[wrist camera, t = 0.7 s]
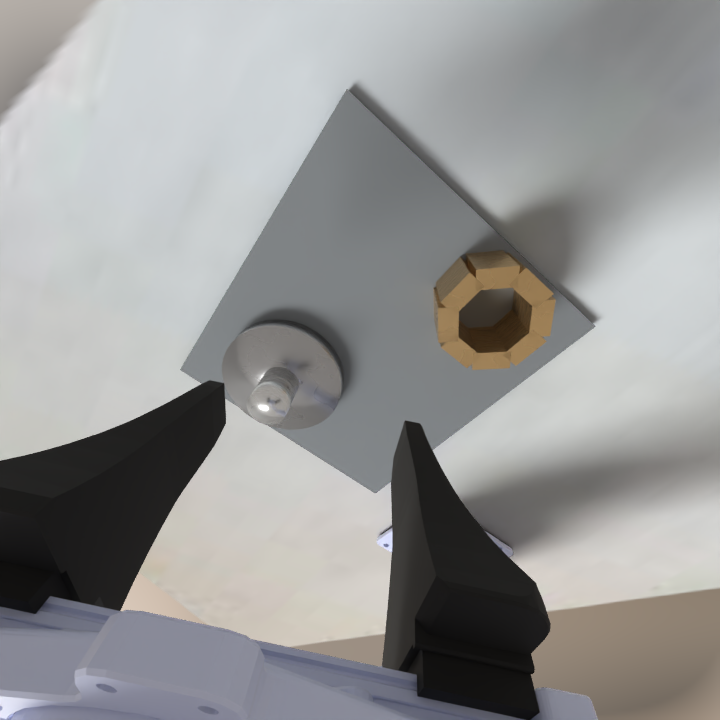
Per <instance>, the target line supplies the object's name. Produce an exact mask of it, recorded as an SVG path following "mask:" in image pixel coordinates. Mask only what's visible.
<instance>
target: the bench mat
mask: <svg viewBox="0 0 720 720" xmlns="http://www.w3.org/2000/svg"><path fill="white" fill-rule="evenodd" d="M499 250H503V251H504V252H505V253H506V254H507V253H508V252H509V253H510V254H511V255H512V256H514V257H515V258H516V259H517V260H518V261H519V262H520V263H522V264H523V265H524V266H525V267H526V268H527V269H528V270H529V271H530V272H531V273H532V274H534V275H535V276H536V277H537V278H538V279H539V280H540V281H541V282H542V283H543V284H544V285H545V286H546V287H547V288H548V289H549V290H550V291H551V292H553V293H554V294H553V295H552V297H554V298H555V299H556V302H555V308H554V314H553V321H552V327H551V334H550V336H544V339H545V340H546V341H547V342H545V343H544V344H543V345H542V346H540V347H539V348H538V349H537V350H535V351H534V352H533V353H532V354H530V355H529V356H528V357H527V358H525V359H524V360H523V361H521V362H520V363H519V364H518V365H516V366H515V365H514V364H513V363H512V362H510V368H504V369H482V370H472V367H471V365H470V366H469V367H468V368H466V367H465V366H463V365H462V364H461V363H460V362H458V361H457V360H456V359H455V358H453V357H452V356H451V355H450V354H448V353H447V352H446V351H445V350H443V349H442V348H441V345H440V343H438V337H437V332H436V327H435V321H434V295H433V288H437V287H436V282H437V281H438V279H439V278H440V277H441V276H442V275H443V274H444V273H445V272H446V271H447V270H448V269H449V268H450V267H451V266H452V265H453V264H454V263H455V261H456V260H457V259H458V258H459V257H461V258H462V259H464V260H465V261H466V254H468V253H478V252H489V251H499ZM513 293H514V289H513V288H501V289H489V290H481V291H479V292H478V293H477V294H476V295H475V296H474V297H473V298H472V299H471V300H470V301H469V302H468V303H467V304H466V305H465V306H464V307H463V308H462V309H461V310H460V311H459V321H461V322H462V323H463V324H464V325H465V326H467V327H468V328H474V327H490V326H494V325H495V324H496V323H497V322H498V321H499V320H500V319H502V318H503V317H504V316H505V315H506V314H507V313H508V312H509V311H511V310H512V304H513ZM272 319H281V320H289V321H293V322H297V323H300V324H303V325H305V326H307V327H309V328H311V329H313V330H314V331H316V332H317V333H319V334H320V335H321V336H323V337H324V338H325V339H326V340H327V341H328V342H329V343H330V344H331V346H332V347H333V348H334V350H335V351H336V353H337V355H338V356H339V358H340V361H341V363H342V367H343V373H344V383H343V388H342V392H341V396H340V399H339V402H338V404H337V406H336V408H335V410H334V411H333V412H332V414H331V415H330V416H329V417H328V418H327V419H325V420H324V421H322V422H321V423H319V424H317V425H315V426H312V427H309V428H305V429H297V430H287V429H279V428H275V427H271V426H270V427H271V428H273V429H274V430H276V431H278V432H279V433H281V434H282V435H284V436H285V437H287V438H289V439H290V440H292V441H293V442H295V443H296V444H298V445H300V446H301V447H303V448H304V449H306V450H308V451H309V452H311V453H312V454H314V455H315V456H317V457H319V458H320V459H322V460H323V461H325V462H326V463H328V464H330V465H331V466H333V467H334V468H336V469H338V470H339V471H341V472H342V473H344V474H345V475H347V476H349V477H350V478H352V479H353V480H355V481H356V482H358V483H360V484H361V485H363V486H364V487H366V488H368V489H369V490H371V491H372V492H374V493H377V492H378V491H379V490H381V489H382V488H383V487H385V486H386V485H387V484H388V483H390V482H391V478H392V467H393V457H394V454H395V451H396V448H397V444H398V441H399V438H400V434H401V431H402V428H403V424H404V421H405V420H406V421H411V422H416V423H420V424H421V425H422V427H423V430H424V432H425V435H426V437H427V439H428V442H429V444H430V446H431V448H432V450H433V449H435V448H436V447H437V446H439V445H440V444H441V443H443V442H444V441H445V440H446V439H448V438H449V437H450V436H452V435H453V434H454V433H456V432H457V431H458V430H460V429H461V428H462V427H464V426H465V425H466V424H468V423H469V422H470V421H472V420H473V419H474V418H475V417H477V416H478V415H479V414H481V413H482V412H483V411H485V410H486V409H487V408H489V407H490V406H491V405H493V404H494V403H495V402H497V401H498V400H499V399H501V398H502V397H503V396H504V395H506V394H507V393H508V392H510V391H511V390H512V389H514V388H515V387H516V386H518V385H519V384H520V383H522V382H523V381H524V380H526V379H527V378H528V377H530V376H531V375H532V374H533V373H535V372H536V371H537V370H539V369H540V368H541V367H543V366H544V365H545V364H547V363H548V362H549V361H551V360H552V359H553V358H555V357H556V356H557V355H559V354H560V353H561V352H562V351H564V350H565V349H566V348H568V347H569V346H570V345H572V344H573V343H574V342H576V341H577V340H578V339H580V338H581V337H582V336H584V335H585V334H586V333H588V332H589V331H590V330H591V329H593V328H594V327H595V325H594V324H593V323H591V322H590V321H589V320H588V319H587V318H586V317H585V316H584V315H583V314H582V313H581V312H580V311H579V310H578V309H577V308H576V307H575V306H574V305H573V304H572V303H571V302H569V301H568V300H567V299H566V298H565V297H564V296H563V295H562V294H561V293H560V292H559V291H558V290H557V289H556V288H555V287H554V286H553V285H552V284H551V283H550V282H549V281H547V280H546V279H545V278H544V277H543V276H542V275H541V274H540V273H539V272H538V271H537V270H536V269H535V268H534V267H533V266H532V265H531V264H530V263H529V262H528V261H527V260H525V259H524V258H523V257H522V256H521V255H520V254H519V253H518V252H517V251H516V250H515V249H514V248H513V247H512V246H511V245H510V244H509V243H508V242H507V241H506V240H505V239H503V238H502V237H501V236H500V235H499V234H498V233H497V232H496V231H495V230H494V229H493V228H492V227H491V226H490V225H489V224H488V223H487V222H486V221H485V220H484V219H483V218H481V217H480V216H479V215H478V214H477V213H476V212H475V211H474V210H473V209H472V208H471V207H470V206H469V205H468V204H467V203H466V202H465V201H464V200H463V199H462V198H461V197H459V196H458V195H457V194H456V193H455V192H454V191H453V190H452V189H451V188H450V187H449V186H448V185H447V184H446V183H445V182H444V181H443V180H442V179H441V178H440V177H438V176H437V175H436V174H435V173H434V172H433V171H432V170H431V169H430V168H429V167H428V166H427V165H426V164H425V163H424V162H423V161H422V160H421V159H420V158H419V157H418V156H416V155H415V154H414V153H413V152H412V151H411V150H410V149H409V148H408V147H407V146H406V145H405V144H404V143H403V142H402V141H401V140H400V139H399V138H398V137H397V136H396V135H394V134H393V133H392V132H391V131H390V130H389V129H388V128H387V127H386V126H385V125H384V124H383V123H382V122H381V121H380V120H379V119H378V118H377V117H376V116H375V115H374V114H372V113H371V112H370V111H369V110H368V109H367V108H366V107H365V106H364V105H363V104H362V103H361V102H360V101H359V100H358V99H357V98H356V97H355V96H354V95H353V94H352V93H350V92H349V91H348V90H346V91H345V93H344V95H343V97H342V98H341V100H340V102H339V103H338V105H337V107H336V108H335V110H334V112H333V113H332V115H331V117H330V118H329V120H328V122H327V123H326V125H325V127H324V128H323V130H322V132H321V134H320V135H319V137H318V139H317V140H316V142H315V144H314V145H313V147H312V149H311V150H310V152H309V154H308V155H307V157H306V159H305V160H304V162H303V164H302V166H301V167H300V169H299V171H298V172H297V174H296V176H295V177H294V179H293V181H292V182H291V184H290V186H289V187H288V189H287V191H286V192H285V194H284V196H283V197H282V199H281V201H280V203H279V204H278V206H277V208H276V209H275V211H274V213H273V214H272V216H271V218H270V219H269V221H268V223H267V224H266V226H265V228H264V229H263V231H262V233H261V235H260V236H259V238H258V240H257V241H256V243H255V245H254V246H253V248H252V250H251V251H250V253H249V255H248V256H247V258H246V260H245V261H244V263H243V265H242V266H241V268H240V270H239V272H238V273H237V275H236V277H235V278H234V280H233V282H232V283H231V285H230V287H229V288H228V290H227V292H226V293H225V295H224V297H223V298H222V300H221V302H220V303H219V305H218V307H217V309H216V310H215V312H214V314H213V315H212V317H211V319H210V320H209V322H208V324H207V325H206V327H205V329H204V330H203V332H202V334H201V335H200V337H199V339H198V341H197V342H196V344H195V346H194V347H193V349H192V351H191V352H190V354H189V356H188V357H187V359H186V361H185V362H184V364H183V366H182V367H181V369H180V370H181V371H183V372H184V373H186V374H188V375H189V376H191V377H192V378H194V379H195V380H197V381H199V382H200V383H202V384H203V383H205V382H207V381H209V380H211V381H216V382H221V383H224V381H223V377H222V361H223V357H224V354H225V352H226V350H227V348H228V347H229V345H230V344H231V343H232V342H233V341H234V340H235V339H236V337H237V336H238V335H239V334H240V333H241V332H243V331H244V330H245V329H246V328H248V327H249V326H251V325H253V324H255V323H258V322H261V321H265V320H272ZM225 399H227V400H229V401H230V402H232V403H233V404H235V405H236V406H238V405H237V404H236V403H235V402H234V401H233V399H232V398H231V397H230V395H229V393H228V392H227V389H226V387H225Z"/></svg>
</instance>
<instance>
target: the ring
mask: <svg viewBox="0 0 720 720" xmlns="http://www.w3.org/2000/svg"><path fill="white" fill-rule="evenodd" d="M436 287H437V288H433V295H434V321H435V327H436V332H437V337H438V343H440V345H441V348H442V349H443V350H445V351H446V352H447V353H448V354H450V355H451V356H452V357H453V358H455V359H456V360H457V361H458V362H460V363H461V364H462V365H463V366H465V367H466V368H468V367H469V366H470V365H471V367H472V370H482V369H504V368H510V362H512V363H513V364H514V365H515V366H516V365H518V364H519V363H520V362H521V361H523V360H524V359H525V358H527V357H528V356H529V355H530V354H532V353H533V352H534V351H535V350H537V349H538V348H539V347H540V346H542V345H543V344H544V343H545V342H547V341H546V340H545V339H544V336H550V334H551V327H552V321H553V314H554V308H555V302H556V299H555V298H554V297H552V295H553V294H554V293H553V292H551V291H550V290H549V289H548V288H547V287H546V286H545V285H544V284H543V283H542V282H541V281H540V280H539V279H538V278H537V277H536V276H535V275H534V274H532V273H531V272H530V271H529V270H528V269H527V268H526V267H525V266H524V265H523V264H522V263H520V262H519V261H518V260H517V259H516V258H515V257H514V256H512V255H511V254H510V253H509V252H508V253H507V254H506V253H505V252H504V251H503V250H499V251H489V252H478V253H468V254H466V261H465V260H464V259H462V258H461V257H459V258H458V259H457V260H456V261H455V263H454V264H453V265H452V266H451V267H450V268H449V269H448V270H447V271H446V272H445V273H444V274H443V275H442V276H441V277H440V278H439V279H438V281H437V282H436ZM501 288H513V289H514V293H513V304H512V310H511V311H509V312H508V313H507V314H506V315H505V316H504V317H503V318H502V319H500V320H499V321H498V322H497V323H496V324H495V325H494V326H490V327H474V328H468V327H467V326H465V325H464V324H463V323H462V322H461V321H459V311H460V310H461V309H462V308H463V307H464V306H465V305H466V304H467V303H468V302H469V301H470V300H471V299H472V298H473V297H474V296H475V295H476V294H477V293H478V292H479V291H481V290H489V289H501Z"/></svg>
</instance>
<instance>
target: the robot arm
mask: <svg viewBox="0 0 720 720" xmlns="http://www.w3.org/2000/svg"><path fill="white" fill-rule="evenodd" d="M225 424H226V411H225V384H224V383H221V382H216V381H211V380H209V381H207V382H205V383H203V384H201V385H199V386H197V387H195V388H194V389H192V390H190V391H188V392H186V393H185V394H183V395H181V396H179V397H177V398H175V399H174V400H172V401H170V402H168V403H166V404H164V405H162V406H160V407H158V408H156V409H154V410H152V411H150V412H148V413H146V414H144V415H142V416H140V417H138V418H136V419H134V420H131V421H129V422H127V423H124V424H122V425H120V426H117V427H115V428H112V429H110V430H107V431H104V432H102V433H99V434H96V435H93V436H90V437H87V438H84V439H81V440H78V441H75V442H72V443H69V444H66V445H62V446H59V447H55V448H52V449H48V450H44V451H41V452H37V453H33V454H29V455H25V456H21V457H16V458H11V459H7V460H2V461H0V720H598V718H597V715H596V713H595V709H594V707H593V704H592V701H591V699H590V698H589V697H587V696H585V695H580V694H576V693H571V692H566V691H562V690H557V689H552V688H544V687H543V688H537V689H534V686H533V682H532V678H531V674H533V673H534V664H533V660H532V656H531V653H532V652H533V651H534V650H535V649H536V647H538V646H539V645H540V643H541V642H543V640H544V639H545V638H546V636H547V635H548V633H549V632H550V621H549V618H548V614H547V611H546V608H545V605H544V602H543V600H542V597H541V595H540V592H539V590H538V588H537V585H536V583H535V582H534V581H533V580H532V579H531V578H530V577H529V576H528V575H527V574H526V573H525V572H524V571H523V570H522V569H520V568H519V567H518V566H517V565H516V564H515V563H514V562H513V561H512V560H511V559H510V558H509V557H511V556H512V555H513V551H512V549H511V548H510V547H509V546H507V545H506V544H504V543H503V542H501V541H500V540H498V539H497V538H495V537H494V536H492V535H491V534H489V533H488V532H486V531H485V530H483V529H482V527H481V526H480V525H479V524H478V523H477V521H476V520H475V519H474V518H473V516H472V515H471V514H470V512H469V511H468V510H467V508H466V507H465V506H464V504H463V503H462V501H461V500H460V498H459V497H458V495H457V494H456V492H455V491H454V489H453V488H452V486H451V484H450V483H449V481H448V479H447V477H446V476H445V474H444V472H443V470H442V468H441V467H440V465H439V463H438V461H437V459H436V457H435V455H434V453H433V451H432V448H431V446H430V444H429V442H428V439H427V437H426V435H425V432H424V430H423V427H422V425H421V424H420V423H416V422H411V421H406V420H405V421H404V424H403V428H402V431H401V434H400V438H399V441H398V444H397V448H396V451H395V454H394V457H393V467H392V478H391V496H392V528H391V529H389V530H388V531H386V532H385V533H383V534H382V535H380V536H379V537H378V538H377V544H378V545H380V546H382V547H383V548H385V549H387V550H388V551H390V552H392V560H391V574H390V587H389V599H388V610H387V621H386V632H385V643H384V652H383V662H382V666H380V667H378V666H374V665H369V664H364V663H360V662H355V661H350V660H346V659H340V658H336V657H332V656H327V655H322V654H318V653H313V652H308V651H304V650H299V649H294V648H290V647H285V646H281V645H276V644H271V643H267V642H262V641H257V640H253V639H250V638H249V637H247V636H246V635H243V634H240V633H237V632H234V631H231V630H228V629H223V628H219V627H214V626H209V625H205V624H200V623H195V622H190V621H186V620H181V619H177V618H172V617H167V616H163V615H158V614H153V613H149V612H144V611H133V610H125V611H120V610H121V608H122V606H123V604H124V601H125V599H126V597H127V595H128V593H129V590H130V588H131V586H132V584H133V582H134V580H135V578H136V576H137V574H138V572H139V570H140V568H141V566H142V564H143V562H144V560H145V558H146V556H147V554H148V552H149V550H150V548H151V546H152V544H153V542H154V541H155V539H156V537H157V535H158V533H159V531H160V529H161V527H162V525H163V524H164V522H165V520H166V518H167V516H168V515H169V513H170V511H171V509H172V508H173V506H174V504H175V502H176V501H177V499H178V498H179V496H180V494H181V493H182V491H183V490H184V488H185V487H186V486H187V484H188V483H189V481H190V480H191V478H192V477H193V476H194V474H195V473H196V471H197V470H198V468H199V467H200V466H201V464H202V463H203V461H204V460H205V458H206V457H207V456H208V454H209V453H210V451H211V450H212V448H213V447H214V445H215V443H216V441H217V440H218V438H219V436H220V434H221V432H222V430H223V428H224V426H225Z"/></svg>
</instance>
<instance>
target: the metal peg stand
mask: <svg viewBox="0 0 720 720" xmlns="http://www.w3.org/2000/svg"><path fill="white" fill-rule="evenodd" d="M222 377H223V381H224V384H225V387H226V389H227V392H228V393H229V395H230V397H231V398H232V399H233V401H234V402H235V403H236V404H237V405H238V407H239V408H240V409H241V410H243V411H244V412H245V413H246V414H248V415H249V416H250V417H252V418H253V419H255V420H257V421H258V422H260V423H263V424H265V425H268V426H271V427H275V428H279V429H287V430H297V429H305V428H309V427H312V426H315V425H317V424H319V423H321V422H322V421H324V420H325V419H327V418H328V417H329V416H330V415H331V414H332V412H333V411H334V410H335V408H336V406H337V404H338V402H339V399H340V396H341V392H342V388H343V383H344V373H343V367H342V363H341V361H340V358H339V356H338V355H337V353H336V351H335V350H334V348H333V347H332V346H331V344H330V343H329V342H328V341H327V340H326V339H325V338H324V337H323V336H321V335H320V334H319V333H317V332H316V331H314V330H313V329H311V328H309V327H307V326H305V325H303V324H300V323H297V322H293V321H289V320H281V319H272V320H265V321H261V322H258V323H255V324H253V325H251V326H249V327H248V328H246V329H245V330H244V331H243V332H241V333H240V334H239V335H238V336H237V337H236V339H235V340H234V341H233V342H232V343H231V344H230V345H229V347H228V348H227V350H226V352H225V354H224V357H223V361H222Z"/></svg>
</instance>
